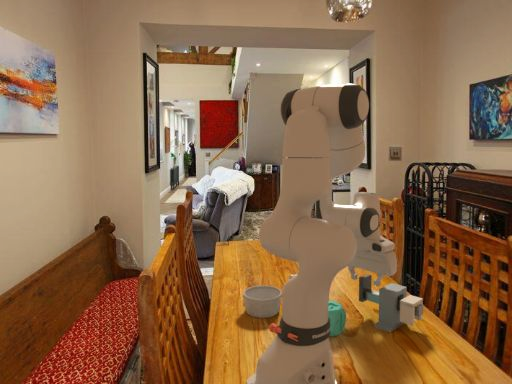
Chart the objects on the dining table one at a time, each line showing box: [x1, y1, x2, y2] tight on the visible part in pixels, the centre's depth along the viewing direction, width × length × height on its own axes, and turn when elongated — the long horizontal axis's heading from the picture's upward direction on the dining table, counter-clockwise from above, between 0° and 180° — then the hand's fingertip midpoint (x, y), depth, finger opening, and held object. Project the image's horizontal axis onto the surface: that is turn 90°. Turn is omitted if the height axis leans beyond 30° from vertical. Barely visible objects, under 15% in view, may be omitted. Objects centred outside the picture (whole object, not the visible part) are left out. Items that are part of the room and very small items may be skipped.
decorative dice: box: [328, 300, 347, 338], centre depth 115 cm, size 8×8×8 cm
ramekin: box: [242, 284, 282, 319], centre depth 130 cm, size 13×13×7 cm
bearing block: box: [374, 282, 408, 333], centre depth 119 cm, size 12×5×12 cm, turn 131°
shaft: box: [358, 273, 424, 317], centre depth 119 cm, size 5×20×8 cm, turn 42°
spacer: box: [400, 294, 424, 327], centre depth 114 cm, size 6×4×7 cm, turn 132°
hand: (365, 282), depth 125 cm, fingers open, 7 cm apart
